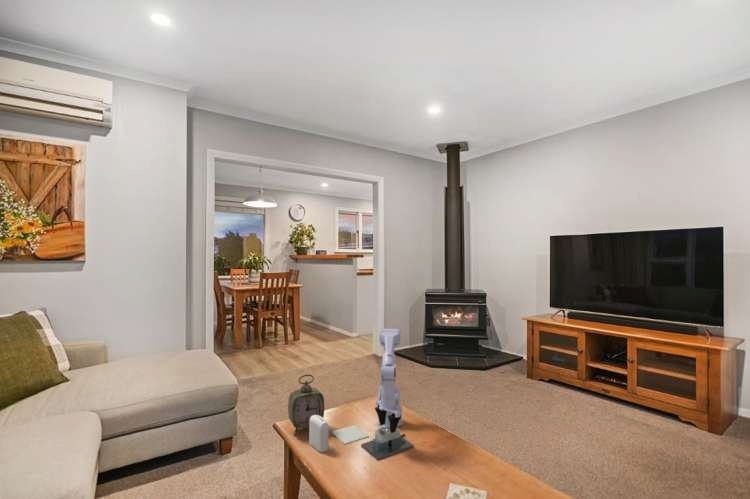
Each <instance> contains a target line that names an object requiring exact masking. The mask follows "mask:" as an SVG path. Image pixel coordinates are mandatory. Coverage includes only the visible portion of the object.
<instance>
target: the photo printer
mask: <svg viewBox="0 0 750 499" xmlns="http://www.w3.org/2000/svg"><path fill="white" fill-rule="evenodd" d="M308 429H309V430H308V431H309V433H308V434H309V435H308V436H309V439H308V441H309V442H308V443H309V444H310V446H312V447H313V448H314V449H315V450H317V451H318V452H320V453H325V452H327V451H328V450H329V423H328V422H327V420H326V419H325V418H324V417H323V418H322V417H321V416H319V415H313V416H311V418H310V421H309V427H308Z"/></svg>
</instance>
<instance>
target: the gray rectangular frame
mask: <svg viewBox="0 0 750 499" xmlns="http://www.w3.org/2000/svg"><path fill="white" fill-rule="evenodd" d="M386 428H390V426H388V427H384V428H383V427H382V428H379V429H375V431H374V439H375V438H376V439H378V440H379V441H380V442H381V443H383V442H386V441H389V440H392V439H395V438H398V437H400V435H401V429H399V428H398V427H397V428H396V432H393V433H391V432H387V433H385V429H386Z"/></svg>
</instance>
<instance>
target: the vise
mask: <svg viewBox="0 0 750 499" xmlns="http://www.w3.org/2000/svg"><path fill="white" fill-rule="evenodd" d="M387 432H390V428H386V429H385V433H387ZM406 436H407V435H406V433H403V434H400V437H398V438H395V439H392V440H389V441H386V442H383V443H381V442H380V441H379V440H378V439H376V438H375V437H374V438H373V439H372V440H370V441H367V442H364V443H361V446H360V447H361V448H362V449H364V450H365V452H367V453H368V454H369V455H371V456H372V457H373V458H374V459H375V460H376V461H380V460H382V459H385V458H388V457H390V456H393V455H396V454H399V453H403V452H405V451H407V450H410V449H414V446H415V444H413V443H411V442H410V441H408V440H407V439H406Z"/></svg>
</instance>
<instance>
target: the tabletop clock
mask: <svg viewBox="0 0 750 499" xmlns="http://www.w3.org/2000/svg"><path fill="white" fill-rule="evenodd" d="M305 377H311V378H312V380H311V381H307V380H305V381H304V382H301V379H302V378H305ZM314 379H315V377H314V375H312V374H310V373H309V374H303V375H301V376H300V377H299V379H298V383H299V384H300V385H301V387H300V389H297V390H293V391H291V392H290V393H289V397H288V401H287V402H288V403H287V411H288V412H287V413H288V419H289V420H290V422H291V424H292V425H293V427H294V428H295V430H294V431H293V433H292V434H293V436H297V435H298V431H297V430H298V429H304V428H305V429H306V428H309V421H310V418H311V416H313V415H319V416H321V417H322V418H324V416H325V399H324V395H323V393H322V392H321V391H320V390H319V389H318V388H316V387H312V386H311V385H310V384H312V382H314Z"/></svg>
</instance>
